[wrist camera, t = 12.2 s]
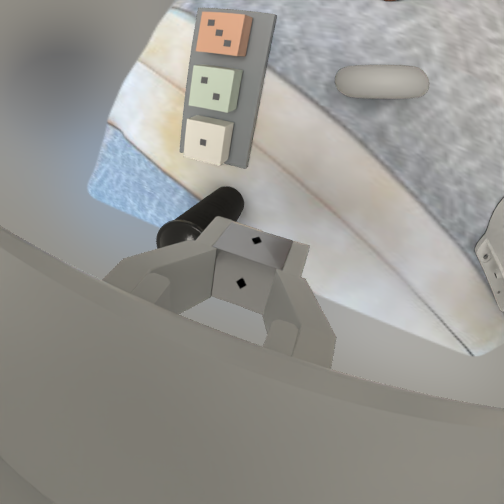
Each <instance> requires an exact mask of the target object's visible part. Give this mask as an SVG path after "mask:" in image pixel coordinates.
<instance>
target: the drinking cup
mask: <svg viewBox="0 0 504 504" xmlns="http://www.w3.org/2000/svg"><path fill="white" fill-rule="evenodd" d="M243 207H244V201H243V198H242V196H241V194H240V193H239V192H238V191H237V190H235V189H234V188H231V187H221V188H219V189H217V190H216V191H215V192H213V193H212V194H210V195H209V196H207V197H206V198H204V199H203V200H202V201H200V202H199V203H197V204H196V205H194V206H193V207H192V208H190V209H189V210H187V211H186V212H185V213H183V214H182V215H180V216H179V217H178V218H176V219H175V220H172V221H169V222H167V223H166V224H164V225H163V226H162V227H161V228H160V230H159V232H158V234H157V241H156V242H157V249H159V248H162V247H166V246H169V245H173V244H176V243H180V242H184V241H187V240H194V241H195V240H196V239H197V238H198V237H199V236H200V235H201V233H202V232H203V231H204V230H205V229H206V228H207V226H208V225H209V224H210V223H211V222H212V221H213V220H214V218H215V217H218V216H220V217H223V218H226V219H230V220H232V221H235V222H236V221H237V219H238V217H239V216H240V214H241V212H242V210H243Z"/></svg>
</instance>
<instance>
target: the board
mask: <svg viewBox="0 0 504 504" xmlns="http://www.w3.org/2000/svg"><path fill="white" fill-rule="evenodd" d="M202 12H221V13H234V14H244V15H247V16H250V17H252V18H253V19H252V24H251V29H250V34H249V40H248V45H247V50H246V55H245V56H233V55H225V54H217V53H208V52H198V51H196V46H197V40H198V34H199V28H200V22H201V16H202ZM276 18H277V15H275V14H268V13H261V12H253V11H243V10H232V9H218V8H198V12H197V18H196V23H195V29H194V36H193V42H192V48H191V55H190V62H189V69H188V77H187V85H186V93H185V102H184V111H183V120H182V130H181V141H180V152H181V153H184V144H185V133H186V123H187V119H188V118H191V117H193V116H196V115H200V116H205V117H210V118H215V119H220V120H224V121H229V122H234V124H233V131H232V137H231V143H230V150H229V156H228V160H227V161H225V162H224V163H225V164H229V165H233V166H236V167H240V168H244V169H246V168H247V167H248V162H249V156H250V151H251V145H252V140H253V135H254V129H255V124H256V119H257V113H258V108H259V103H260V98H261V93H262V87H263V82H264V77H265V72H266V67H267V62H268V57H269V52H270V47H271V42H272V37H273V32H274V28H275V23H276ZM194 65H212V66H219V67H226V68H233V69H239V70H243V72H242V77H241V83H240V89H239V95H238V100H237V106H236V109H235V110H233V111H231V112H228V113H227V112H222V111H217V110H211V109H206V108H201V107H195V106H189V97H190V89H191V81H192V74H193V66H194Z"/></svg>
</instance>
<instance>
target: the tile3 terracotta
mask: <svg viewBox="0 0 504 504" xmlns="http://www.w3.org/2000/svg"><path fill="white" fill-rule="evenodd" d="M252 19H253V18H252V17H250V16H247V15H244V14H234V13H221V12H202V16H201V22H200V28H199V34H198V40H197V46H196V51H198V52H208V53H217V54H225V55H233V56H245V55H246V50H247V45H248V40H249V34H250V29H251V24H252Z"/></svg>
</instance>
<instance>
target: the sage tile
mask: <svg viewBox="0 0 504 504" xmlns="http://www.w3.org/2000/svg"><path fill="white" fill-rule="evenodd" d="M242 72H243V70H239V69H233V68H226V67H219V66H212V65H194V66H193V74H192V81H191V89H190V97H189V106H195V107H201V108H206V109H211V110H217V111H222V112H227V113H228V112H231V111H233V110H235V109H236V106H237V100H238V95H239V89H240V83H241V77H242Z"/></svg>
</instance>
